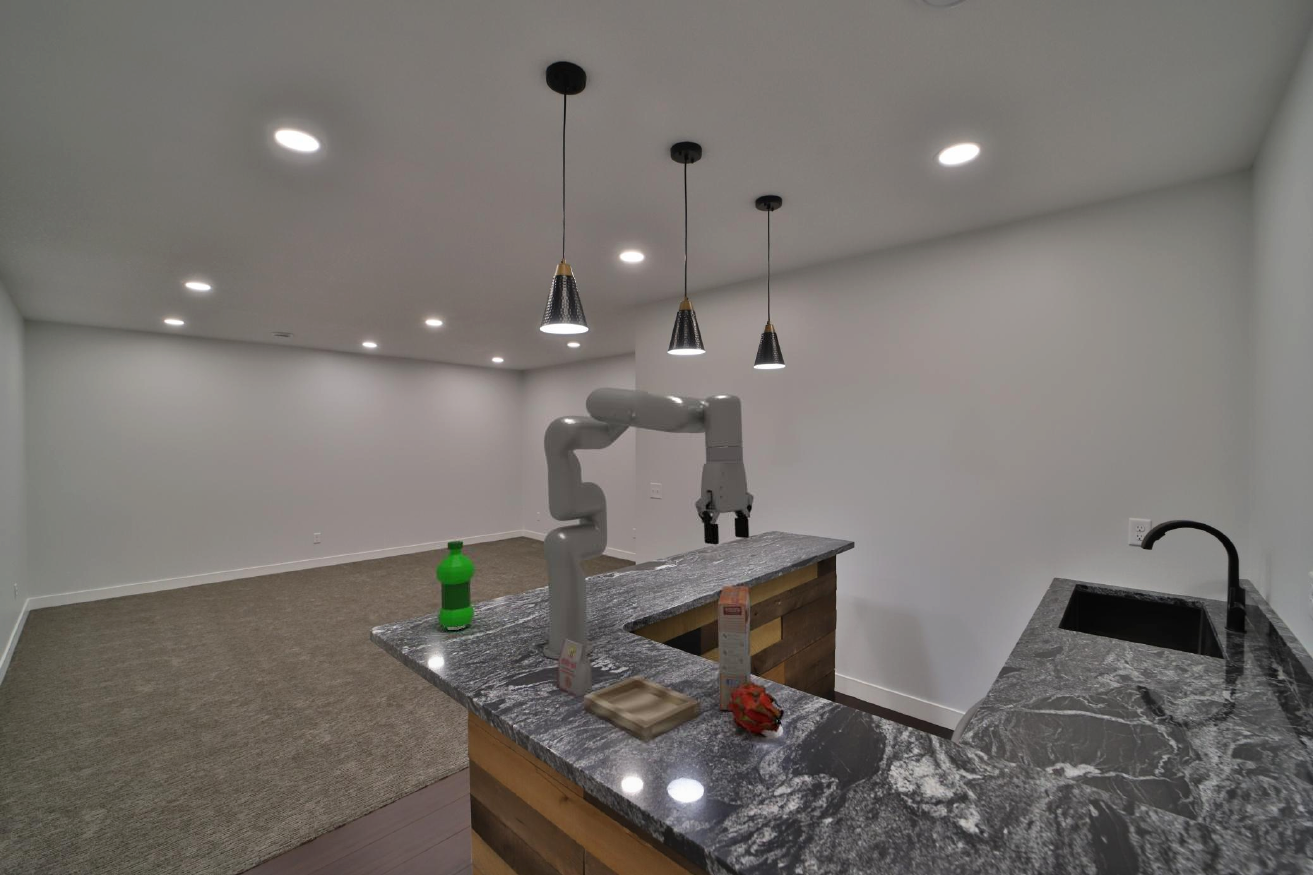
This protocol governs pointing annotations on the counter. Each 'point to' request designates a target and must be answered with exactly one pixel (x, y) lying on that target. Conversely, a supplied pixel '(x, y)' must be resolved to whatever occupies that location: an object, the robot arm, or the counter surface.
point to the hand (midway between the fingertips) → (727, 540)
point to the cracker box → (733, 641)
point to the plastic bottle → (455, 587)
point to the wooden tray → (642, 707)
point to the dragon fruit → (755, 709)
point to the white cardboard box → (574, 669)
